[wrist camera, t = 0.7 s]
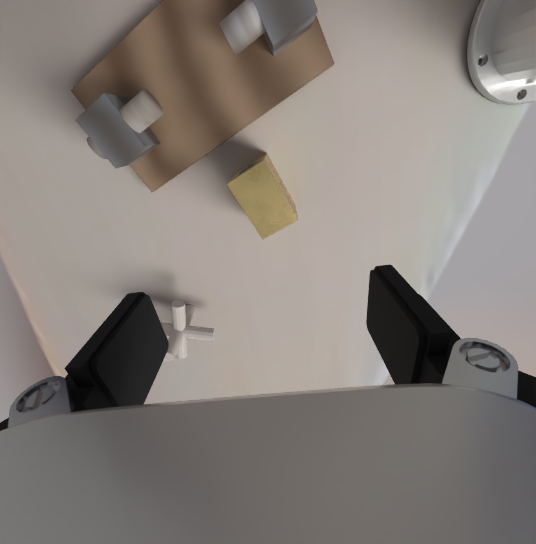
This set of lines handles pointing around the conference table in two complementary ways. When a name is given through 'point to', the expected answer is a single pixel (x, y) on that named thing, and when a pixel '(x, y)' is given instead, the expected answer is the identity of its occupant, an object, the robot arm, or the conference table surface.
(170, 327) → the pipe connector
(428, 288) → the conference table surface
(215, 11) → the shaft stand
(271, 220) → the block
